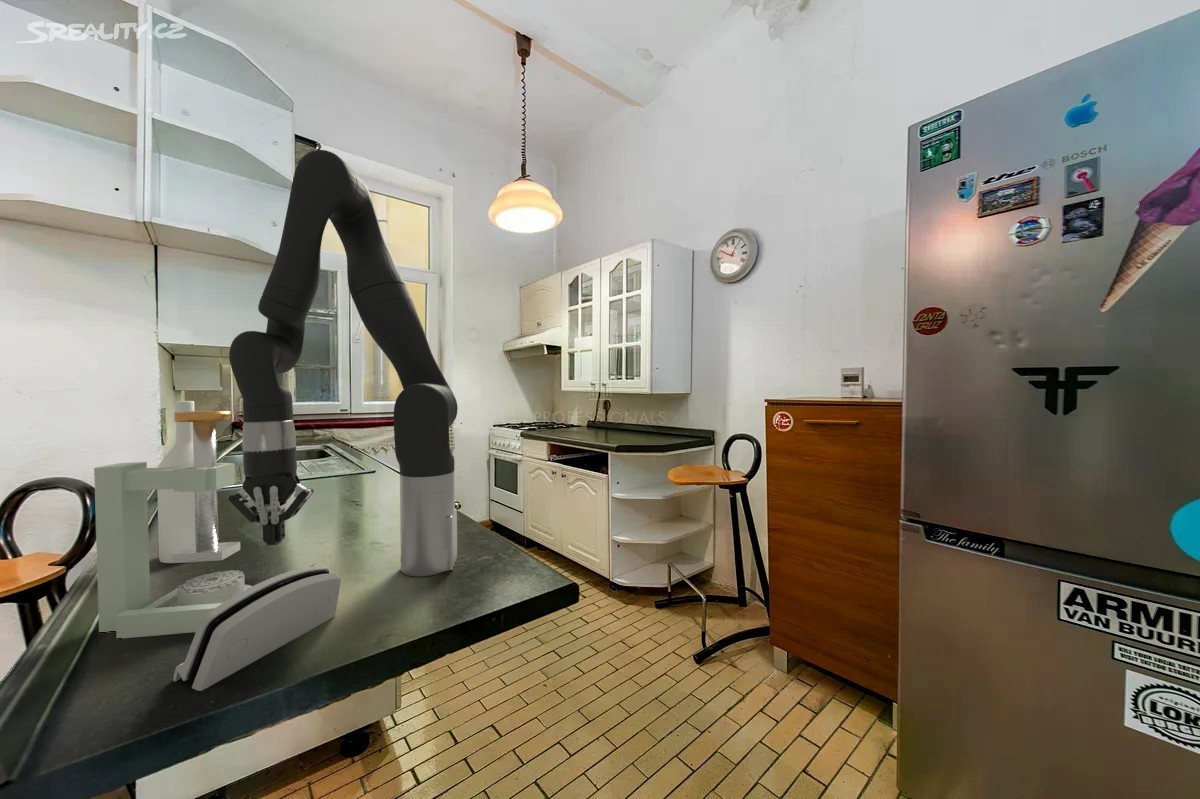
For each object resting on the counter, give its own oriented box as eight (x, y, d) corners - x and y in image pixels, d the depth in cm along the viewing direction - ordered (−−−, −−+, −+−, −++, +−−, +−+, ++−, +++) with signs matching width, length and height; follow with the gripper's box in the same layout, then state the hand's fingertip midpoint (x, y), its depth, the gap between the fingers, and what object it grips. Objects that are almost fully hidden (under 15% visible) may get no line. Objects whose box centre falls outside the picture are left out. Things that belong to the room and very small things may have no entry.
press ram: (244, 547, 65) (241, 410, 65) (217, 562, 59) (213, 412, 59) (198, 549, 64) (195, 410, 64) (165, 566, 58) (161, 413, 58)
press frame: (305, 582, 73) (303, 451, 73) (255, 626, 59) (252, 465, 59) (170, 591, 70) (166, 454, 69) (84, 641, 56) (79, 470, 55)
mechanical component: (146, 621, 61) (199, 631, 59) (145, 590, 61) (198, 598, 59) (223, 589, 71) (271, 597, 69) (222, 562, 71) (270, 569, 69)
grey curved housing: (310, 609, 64) (327, 548, 63) (333, 625, 63) (351, 563, 62) (168, 682, 48) (186, 602, 47) (195, 705, 47) (215, 624, 46)
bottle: (147, 561, 82) (143, 401, 81) (195, 546, 90) (192, 400, 89) (180, 565, 80) (176, 401, 79) (227, 549, 88) (223, 400, 87)
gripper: (320, 442, 82) (324, 533, 82) (241, 445, 80) (245, 539, 80) (301, 447, 75) (305, 548, 75) (212, 451, 72) (217, 555, 73)
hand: (274, 543), depth 78 cm, fingers closed
